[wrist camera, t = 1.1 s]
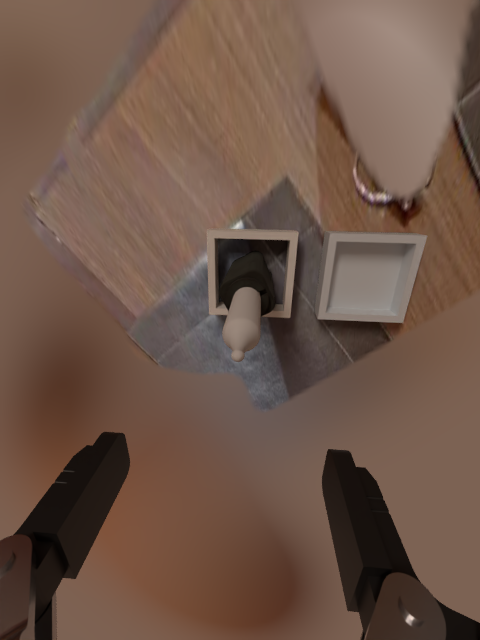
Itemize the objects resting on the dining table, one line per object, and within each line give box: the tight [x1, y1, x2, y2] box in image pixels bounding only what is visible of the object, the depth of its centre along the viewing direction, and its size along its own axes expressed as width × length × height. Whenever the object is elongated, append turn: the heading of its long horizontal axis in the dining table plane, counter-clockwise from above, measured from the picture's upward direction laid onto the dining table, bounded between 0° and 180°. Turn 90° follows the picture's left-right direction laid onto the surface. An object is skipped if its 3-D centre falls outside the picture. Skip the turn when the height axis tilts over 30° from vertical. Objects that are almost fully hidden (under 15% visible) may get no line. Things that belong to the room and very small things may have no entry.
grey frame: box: [207, 228, 299, 318], centre depth 39 cm, size 12×12×3 cm
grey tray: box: [314, 231, 427, 323], centre depth 38 cm, size 12×12×3 cm
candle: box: [219, 251, 275, 362], centre depth 29 cm, size 5×5×25 cm
